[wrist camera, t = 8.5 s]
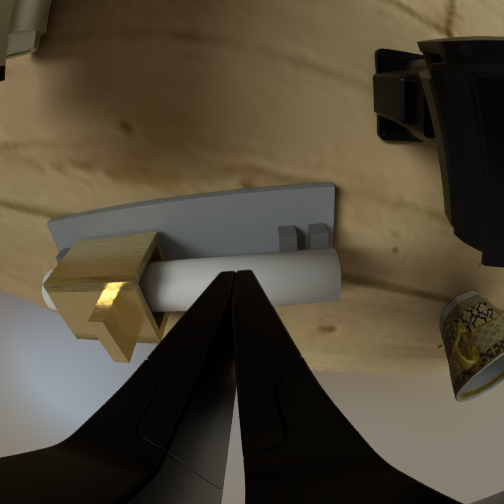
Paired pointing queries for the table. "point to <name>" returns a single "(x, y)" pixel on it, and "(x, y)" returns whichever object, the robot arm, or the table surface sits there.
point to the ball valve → (21, 28)
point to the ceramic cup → (473, 344)
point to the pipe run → (224, 242)
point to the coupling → (108, 292)
